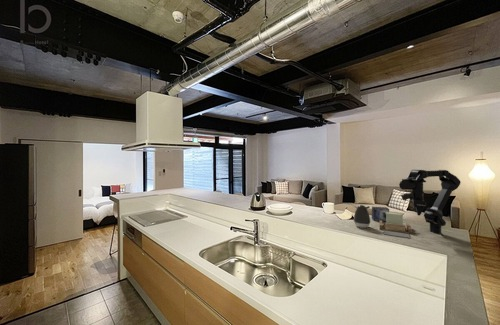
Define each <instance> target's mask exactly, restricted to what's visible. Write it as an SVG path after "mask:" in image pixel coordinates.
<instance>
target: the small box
mask: <svg viewBox="0 0 500 325" xmlns="http://www.w3.org/2000/svg"><path fill="white" fill-rule="evenodd" d="M386 212H388V213H390V208H388V207H387V206H386V207H385V206H371V220H372V221H374V222H379V220H382V223H386Z"/></svg>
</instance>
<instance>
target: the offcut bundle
mask: <svg viewBox="0 0 500 325" xmlns="http://www.w3.org/2000/svg"><path fill="white" fill-rule="evenodd" d="M384 224H385V228H384V229H389V230H397V231H404V232H406V231H405V228H406V225H404V224H403V225H397V224H389V223H386V222H384Z"/></svg>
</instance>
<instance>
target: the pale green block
mask: <svg viewBox="0 0 500 325" xmlns="http://www.w3.org/2000/svg"><path fill="white" fill-rule="evenodd" d="M403 217H404V215H403V213H397V212H396V213H395V212H389V213H388V212H386V222H385V223H389V224H397V225H404V223H403V222H404V220H403V219H404V218H403Z"/></svg>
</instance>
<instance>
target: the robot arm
mask: <svg viewBox="0 0 500 325" xmlns="http://www.w3.org/2000/svg"><path fill="white" fill-rule="evenodd" d="M431 177H438V179H439V181H440V182H441V184H440V185H441V190H440V191H439V194H438V195H437V197H436V199H435V201H434V203H433V205H432V207H427V201H426V200H425V198H424V193H425V191H424V183H427V180H425V179H427V178H431ZM398 185H399V188H400V189H401V190H405V191H406V190H409V191H410V192H406V193H403V194H400V196H401V198H402V200H403V201H407V200H409V201H410V203H411V204H412V205H413V208H414V212H415V213H416V214H417V216H419V217H420V216H421V215H422V213H423V217H424V220H425V222H426V223H427V224H429V232H430V233H433V234H435V235H436V234H438V235H440V236H444V234H443V232H442V227H444V226H446V225H447V222H446V221H445V219H444V218H443V217H444V214H443V209H444V207H445V206H446V203H448V200H449V198H450V196H451V194H452V192H454V191H455V190H458V188H459V187H460V185H461V180H460V178H458V176H456V175H454V174H453V173H451V172H450V171H449V170H447V169H437V170H424V169H411V170H410V171H409V173H408V175H407V177H406V178H402V179H401V181H400V182H399V183H398ZM425 208H426V209H425ZM424 209H425V211H424ZM423 211H424V212H423Z"/></svg>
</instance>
